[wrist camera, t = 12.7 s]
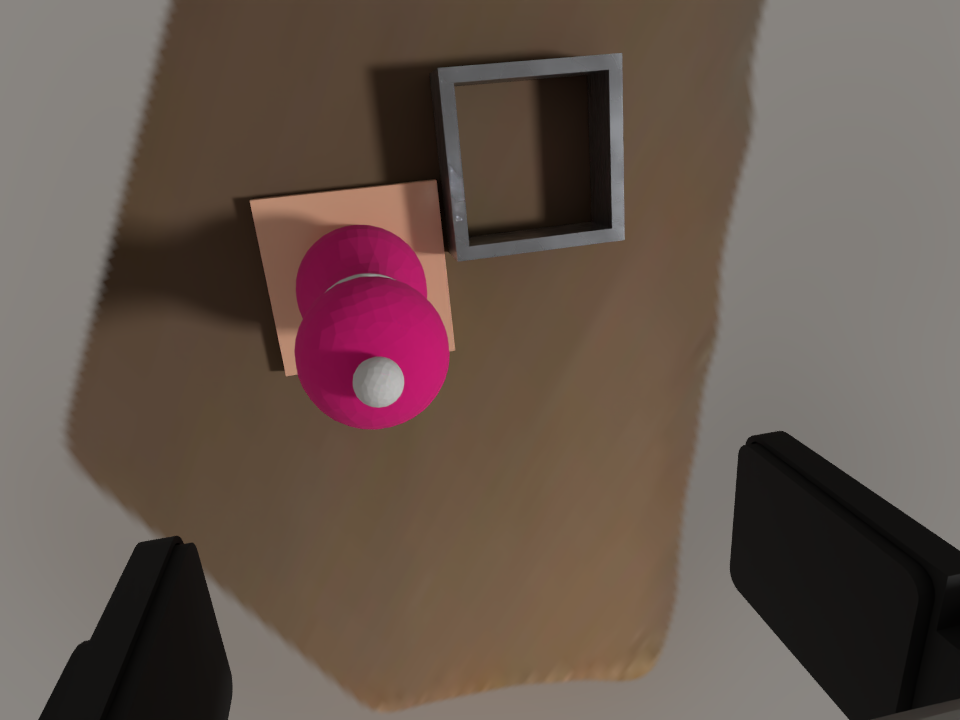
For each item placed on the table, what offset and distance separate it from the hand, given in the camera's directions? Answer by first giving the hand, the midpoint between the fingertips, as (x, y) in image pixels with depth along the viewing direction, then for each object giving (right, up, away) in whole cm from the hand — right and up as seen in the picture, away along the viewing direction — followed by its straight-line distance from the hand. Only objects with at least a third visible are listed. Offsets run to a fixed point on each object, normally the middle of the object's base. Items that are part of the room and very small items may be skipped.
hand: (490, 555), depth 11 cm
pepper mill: (-8, +9, +29) cm, 32 cm away
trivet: (-8, +9, +30) cm, 32 cm away
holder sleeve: (+2, +16, +30) cm, 34 cm away
